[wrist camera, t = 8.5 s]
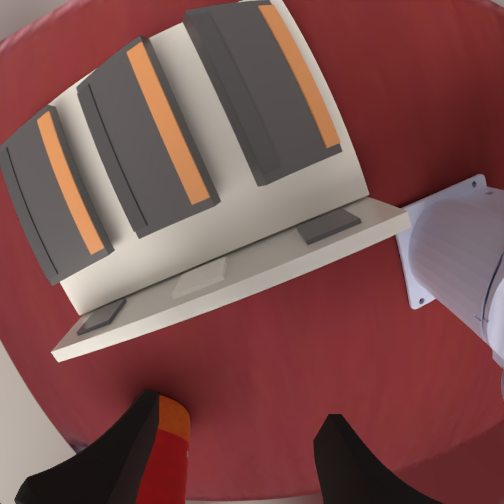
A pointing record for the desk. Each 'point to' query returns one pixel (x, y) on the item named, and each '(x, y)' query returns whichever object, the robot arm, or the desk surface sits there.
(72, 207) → the switch
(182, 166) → the switch
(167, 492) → the paper cup
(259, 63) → the switch
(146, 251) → the switch unit
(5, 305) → the desk surface
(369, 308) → the desk surface
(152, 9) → the desk surface
